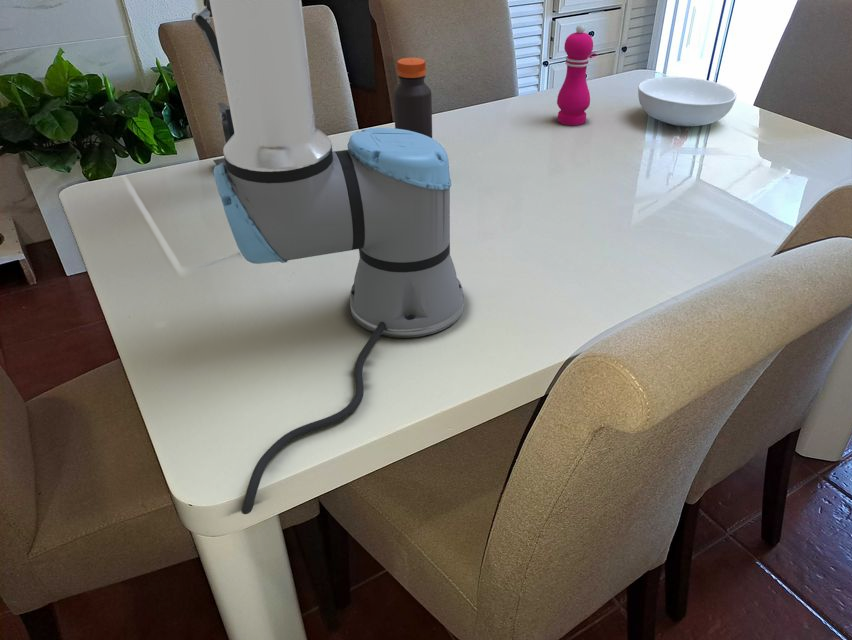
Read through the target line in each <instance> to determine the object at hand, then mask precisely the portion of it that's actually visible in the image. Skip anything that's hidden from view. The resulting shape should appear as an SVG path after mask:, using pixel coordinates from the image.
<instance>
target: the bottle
mask: <svg viewBox="0 0 852 640" xmlns="http://www.w3.org/2000/svg"><path fill="white" fill-rule="evenodd" d="M426 67H427V66H426V60H425V59H423V58H419V57H403V58H400V59H398V60H397V61H396V69H397V78H398V79H399V83H398V84H397V85H396V86H395V88H394V89H393V91H392V93H393V94H392V95H393V96H392V97H393V113H394V128H395V129H403V130H408V131H413V132H417V133H420V134H423V135H426V136H428V137H430V138H432V139H433V103H432V89H431V88H430V87H429V86H428V84H426V82H425V78H426V75H427V74H426V73H427V72H426V69H427V68H426Z"/></svg>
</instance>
